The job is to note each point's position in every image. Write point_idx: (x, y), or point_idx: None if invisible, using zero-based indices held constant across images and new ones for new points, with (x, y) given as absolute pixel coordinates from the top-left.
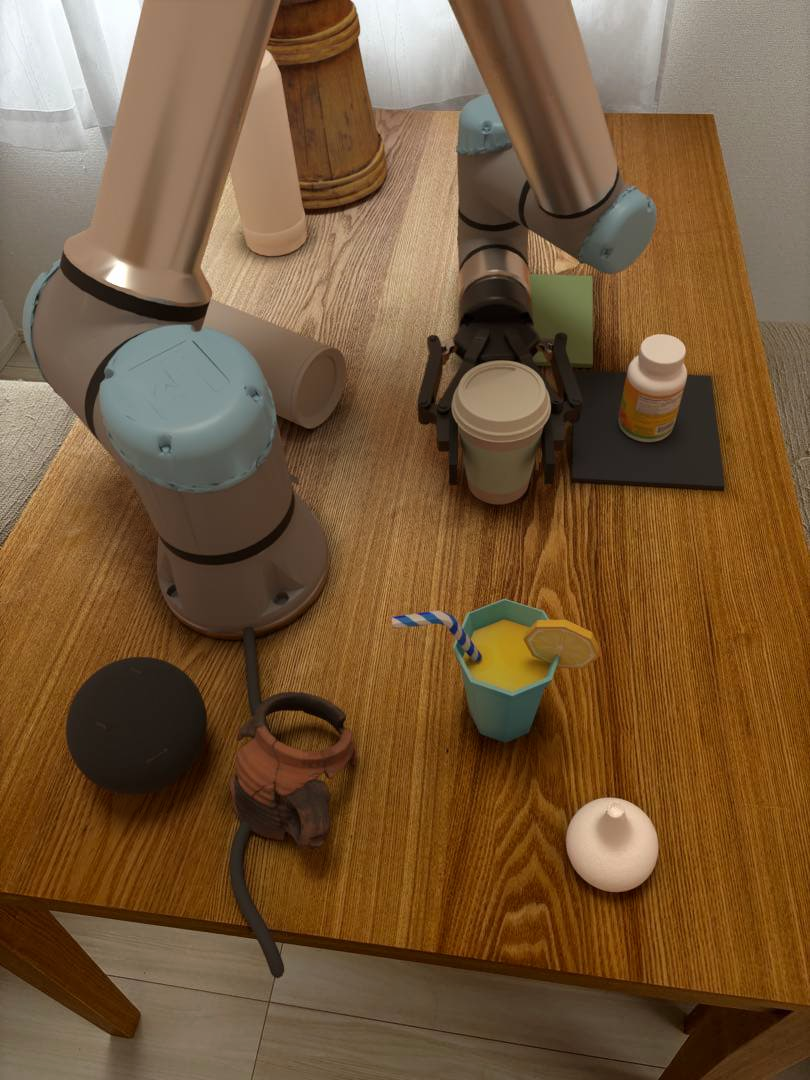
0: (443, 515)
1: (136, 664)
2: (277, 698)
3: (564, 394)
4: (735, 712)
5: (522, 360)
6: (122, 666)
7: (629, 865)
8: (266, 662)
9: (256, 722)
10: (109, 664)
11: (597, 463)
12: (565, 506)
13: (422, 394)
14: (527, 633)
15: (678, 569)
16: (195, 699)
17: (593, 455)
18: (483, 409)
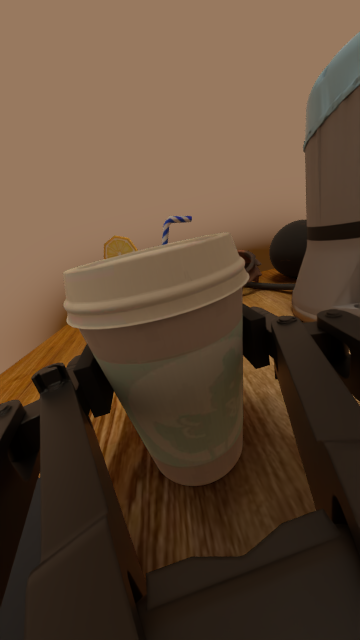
0: (244, 381)
1: (306, 225)
2: (251, 261)
3: (11, 468)
4: (52, 350)
5: (97, 520)
6: None
7: None
8: (289, 296)
9: (248, 251)
10: None
11: (31, 511)
12: (108, 431)
13: (356, 321)
14: (134, 246)
15: (27, 404)
16: (279, 246)
17: (28, 532)
18: (174, 246)
